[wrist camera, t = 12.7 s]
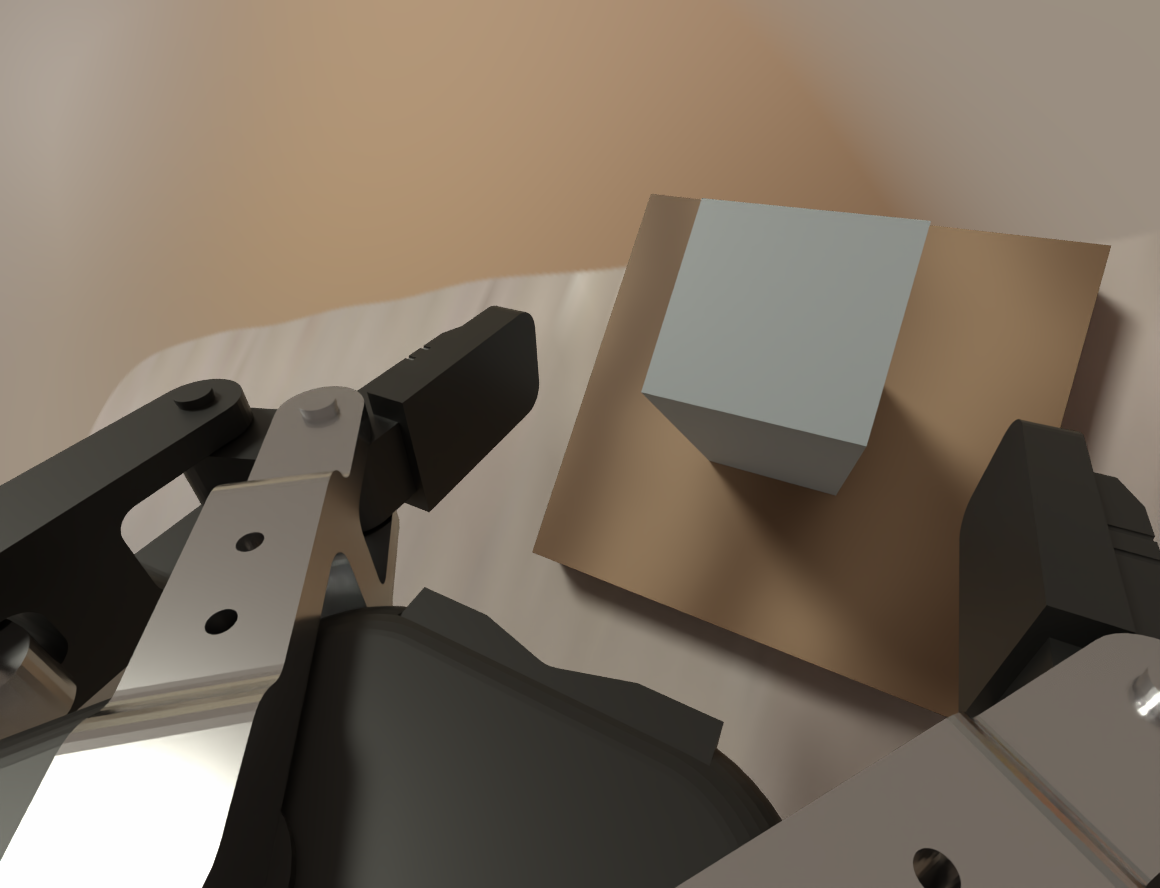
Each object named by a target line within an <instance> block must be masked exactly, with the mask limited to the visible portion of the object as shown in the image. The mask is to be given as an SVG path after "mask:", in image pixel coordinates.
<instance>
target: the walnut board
mask: <svg viewBox="0 0 1160 888" xmlns="http://www.w3.org/2000/svg"><path fill="white" fill-rule="evenodd" d="M700 202H701V200H700V199H690V198H681V197H673V196H664V195H656V194H651V195H650V198H649V202H648V204H647V208H646V210H645V213H644V217H643V220H642V223H641V226H640V229H639V232H638V235H637V238H636V241H635V244H634V247H633V250H632V253H631V256H630V259H629V262H628V265H627V268H626V271H625V274H624V277H623V280H622V283H621V286H620V289H619V292H618V295H617V298H616V301H615V304H614V307H613V310H612V313H611V316H610V319H609V322H608V325H607V328H606V331H605V334H604V337H603V340H602V343H601V346H600V349H599V352H598V355H597V358H596V361H595V364H594V367H593V370H592V373H591V376H590V379H589V383H588V386H587V389H586V392H585V395H584V398H583V401H582V404H581V407H580V410H579V413H578V416H577V419H576V422H575V425H574V428H573V431H572V434H571V437H570V440H569V443H568V446H567V449H566V452H565V455H564V458H563V461H562V464H561V467H560V470H559V473H558V476H557V479H556V482H555V485H554V488H553V491H552V494H551V497H550V500H549V503H548V506H547V509H546V512H545V515H544V518H543V521H542V524H541V527H540V530H539V533H538V536H537V539H536V542H535V545H534V549H533V553H536V554H538V555H541V556H543V557H546V558H548V559H551V560H553V561H556V562H558V563H561V564H563V565H566V566H568V567H571V568H573V569H576V570H578V571H581V572H583V573H586V574H588V575H591V576H593V577H596V578H598V579H601V580H603V581H606V582H608V583H611V584H614V585H616V586H619V587H621V588H624V589H626V590H629V591H631V592H634V593H636V594H639V595H641V596H644V597H646V598H649V599H651V600H654V601H656V602H659V603H661V604H664V605H666V606H669V607H671V608H674V609H676V610H679V611H681V612H684V613H687V614H689V615H692V616H694V617H697V618H699V619H702V620H704V621H707V622H709V623H712V624H714V625H717V626H719V627H722V628H724V629H727V630H729V631H732V632H734V633H737V634H739V635H742V636H744V637H747V638H749V639H752V640H754V641H757V642H759V643H762V644H765V645H767V646H770V647H772V648H775V649H777V650H780V651H782V652H785V653H787V654H790V655H792V656H795V657H797V658H800V659H802V660H805V661H807V662H810V663H812V664H815V665H817V666H820V667H822V668H825V669H827V670H830V671H832V672H835V673H837V674H840V675H843V676H845V677H848V678H850V679H853V680H855V681H858V682H860V683H863V684H865V685H868V686H870V687H873V688H875V689H878V690H880V691H883V692H885V693H888V694H890V695H893V696H895V697H898V698H900V699H903V700H905V701H908V702H910V703H913V704H916V705H918V706H921V707H923V708H926V709H928V710H931V711H933V712H936V713H938V714H941V715H943V716H946V717H950V716H952V715H954V714H956V713H958V708H959V537H960V529H961V524H962V520H963V516H964V513H965V510H966V507H967V505H968V503H969V500H970V498H971V496H972V494H973V492H974V491H975V489H976V487H977V485H978V483H979V481H980V479H981V477H982V476H983V474H984V472H985V470H986V468H987V466H988V464H989V462H990V461H991V459H992V457H993V455H994V453H995V451H996V449H997V447H998V446H999V444H1000V442H1001V440H1002V438H1003V436H1004V434H1005V433H1006V431H1007V429H1008V428H1009V426H1010V425H1011V424H1012V423H1013V422H1014V421H1015V420H1017V419H1021V420H1025V421H1030V422H1034V423H1039V424H1044V425H1048V426H1053V427H1058V428H1060V427H1061V423H1062V419H1063V416H1064V412H1065V409H1066V405H1067V402H1068V398H1069V394H1070V391H1071V387H1072V384H1073V380H1074V377H1075V373H1076V369H1077V366H1078V362H1079V359H1080V355H1081V352H1082V348H1083V344H1084V341H1085V337H1086V334H1087V330H1088V327H1089V323H1090V319H1091V316H1092V312H1093V309H1094V305H1095V301H1096V298H1097V294H1098V291H1099V287H1100V284H1101V280H1102V276H1103V273H1104V269H1105V266H1106V262H1107V259H1108V255H1109V251H1110V248H1111V246H1109V245H1101V244H1092V243H1083V242H1073V241H1065V240H1056V239H1047V238H1038V237H1029V236H1020V235H1012V234H1002V233H994V232H984V231H976V230H967V229H958V228H948V227H940V226H931V225H930V226H929V229H928V233H927V236H926V240H925V243H924V247H923V250H922V254H921V257H920V261H919V264H918V268H917V271H916V275H915V278H914V282H913V285H912V289H911V292H910V296H909V299H908V303H907V306H906V310H905V313H904V317H903V320H902V324H901V327H900V331H899V334H898V338H897V341H896V345H895V349H894V352H893V356H892V359H891V363H890V366H889V370H888V373H887V377H886V380H885V384H884V387H883V391H882V394H881V398H880V401H879V405H878V408H877V412H876V415H875V419H874V422H873V426H872V429H871V433H870V436H869V440H868V443H867V447H866V448H865V450H864V451H863V453H862V455H861V456H860V458H859V459H858V461H857V463H856V464H855V466H854V467H853V469H852V471H851V472H850V474H849V475H848V477H847V479H846V480H845V482H844V483H843V485H842V487H841V488H840V490H839V491H838V493H837V494H836V496H835V495H832V494H828V493H824V492H821V491H817V490H814V489H810V488H806V487H803V486H799V485H795V484H792V483H788V482H784V481H781V480H777V479H774V478H770V477H766V476H763V475H759V474H755V473H752V472H748V471H745V470H741V469H737V468H734V467H730V466H726V465H723V464H719V463H715V462H712V461H709V460H708V459H707V458H706V457H705V456H704V455H703V454H702V453H701V452H700V451H699V450H698V449H697V448H696V447H695V446H694V445H693V444H692V443H691V442H690V441H689V440H688V439H687V438H686V437H685V436H684V435H683V434H682V433H681V432H680V431H679V430H678V429H677V428H676V427H675V426H674V425H673V424H672V423H671V422H670V421H669V420H668V419H667V418H666V417H665V416H664V415H663V414H662V413H661V412H660V411H659V410H658V409H657V408H656V407H655V406H654V405H653V404H652V403H651V402H650V401H649V400H648V399H647V398H646V397H645V396H644V395H643V394H642V393H641V391H642V388H643V385H644V382H645V378H646V375H647V372H648V369H649V366H650V362H651V359H652V356H653V353H654V350H655V346H656V343H657V340H658V337H659V334H660V330H661V327H662V324H663V321H664V318H665V314H666V311H667V308H668V305H669V302H670V298H671V295H672V292H673V289H674V286H675V282H676V279H677V276H678V273H679V270H680V266H681V263H682V260H683V257H684V254H685V250H686V247H687V244H688V241H689V238H690V234H691V231H692V228H693V225H694V222H695V218H696V215H697V212H698V209H699V206H700Z"/></svg>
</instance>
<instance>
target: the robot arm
mask: <svg viewBox="0 0 1160 888" xmlns="http://www.w3.org/2000/svg"><path fill="white" fill-rule="evenodd" d="M538 390H539V375H538V361H537V348H536V334H535V324H534V320H533V318H532V316H531V315H530V314H529V313H527V312H522V311H517V310H513V309H508V308H503V307H499V306H491V307H489V308H487V309H486V310H484V311H483V312H482V313H480V314H479V315H477V316H476V317H474V318H473V319H471V320H470V321H469V322H467V323H466V324H464V325H463V326H461V327H458V328H455V329H453V330H450V331H447V332H444V333H442V334H440V335H439V336H437V337H436V338H434V339H433V340H431V341H430V342H428V343H427V344H426V345H424V348H423V349H422V348H420V349H418V350H417V351H415V352H414V353H412V354H411V355H409V359H406V358H405V359H403V360H402V361H401V362H399V363H398V364H396V365H395V366H393V367H392V368H390V369H389V370H387V371H386V372H384V373H383V374H381V375H380V376H378V377H377V378H376V379H374V380H373V381H371V382H370V383H368V384H367V385H365V386H364V387H362V388H361V389H359V390H358V391H356V390H354V389H351V388H347V387H339V386H331V387H322V388H317V389H312V390H309V391H306V392H303V393H301V394H298V395H296V396H294V397H292V398H291V399H289V400H287V401H286V402H285V403H283V404H282V405H281V406H280V407H279V408H278V409H262V408H250V406H249V404H248V401H247V399H246V397H245V395H244V392H243V390H242V388H241V386H240V385H239V384H238V383H236V382H234V381H231V380H226V379H209V380H202V381H197V382H193V383H189V384H186V385H183V386H181V387H178V388H176V389H174V390H172V391H170V392H168V393H166V394H164V395H162V396H161V397H159V398H157V399H155V400H153V401H152V402H150V403H148V404H146V405H144V406H143V407H141V408H139V409H137V410H135V411H134V412H132V413H130V414H128V415H126V416H125V417H123V418H121V419H119V420H118V421H116V422H114V423H112V424H110V425H109V426H107V427H105V428H103V429H101V430H100V431H98V432H96V433H94V434H92V435H91V436H89V437H87V438H85V439H83V440H82V441H80V442H78V443H76V444H74V445H73V446H71V447H69V448H67V449H65V450H64V451H62V452H60V453H58V454H56V455H55V456H53V457H51V458H49V459H48V460H46V461H44V462H42V463H40V464H39V465H37V466H35V467H33V468H31V469H30V470H28V471H26V472H24V473H22V474H21V475H19V476H17V477H15V478H14V479H12V480H10V481H8V482H6V483H4V484H3V485H1V486H0V888H1160V550H1159V547H1158V544H1157V542H1154V541H1153V539H1154V537H1155V535H1154V532H1153V529H1152V526H1151V523H1150V521H1149V518H1148V515H1147V512H1146V509H1145V507H1144V506H1143V505H1142V504H1141V503H1140V502H1139V500H1138V499H1137V498H1136V497H1135V496H1134V495H1133V494H1132V493H1131V492H1130V491H1129V490H1128V489H1127V488H1126V487H1125V486H1124V485H1123V484H1122V483H1121V482H1120V481H1119V480H1118V478H1116V477H1111V476H1107V475H1103V474H1099V473H1094V472H1093V469H1092V465H1091V461H1090V457H1089V454H1088V450H1087V446H1086V442H1085V439H1084V436H1083V434H1082V433H1080V432H1076V431H1072V430H1067V429H1062V428H1058V427H1053V426H1048V425H1044V424H1039V423H1034V422H1030V421H1025V420H1021V419H1017V420H1015V421H1014V422H1013V423H1012V424H1011V425H1010V426H1009V428H1008V429H1007V431H1006V433H1005V434H1004V436H1003V438H1002V440H1001V442H1000V444H999V446H998V447H997V449H996V451H995V453H994V455H993V457H992V459H991V461H990V462H989V464H988V466H987V468H986V470H985V472H984V474H983V476H982V477H981V479H980V481H979V483H978V485H977V487H976V489H975V491H974V492H973V494H972V496H971V498H970V500H969V503H968V505H967V507H966V510H965V513H964V516H963V520H962V524H961V529H960V537H959V708H958V713H956V714H954V715H952V716H950V717H948V718H946V719H944V720H943V721H941V722H939V723H938V724H936V725H934V726H933V727H931V728H930V729H928V730H926V731H925V732H923V733H922V734H920V735H918V736H917V737H915V738H914V739H912V740H910V741H909V742H907V743H906V744H904V745H902V746H901V747H899V748H898V749H896V750H894V751H893V752H891V753H890V754H888V755H886V756H885V757H883V758H882V759H880V760H878V761H877V762H875V763H874V764H872V765H870V766H869V767H867V768H866V769H864V770H862V771H861V772H859V773H858V774H856V775H854V776H853V777H851V778H850V779H848V780H846V781H845V782H843V783H842V784H840V785H838V786H837V787H835V788H834V789H832V790H830V791H829V792H827V793H826V794H824V795H822V796H821V797H819V798H818V799H816V800H815V801H813V802H811V803H810V804H808V805H807V806H805V807H803V808H802V809H800V810H799V811H797V812H795V813H794V814H792V815H791V816H789V817H787V818H786V819H784V820H783V821H782V820H781V818H780V817H779V815H778V813H777V812H776V810H775V809H774V807H773V806H772V804H771V803H770V802H769V800H768V799H767V798H766V797H765V795H764V794H763V793H762V792H761V791H760V789H759V788H758V787H757V786H756V784H755V783H754V782H753V781H752V780H751V779H750V778H749V777H748V776H747V775H746V774H745V773H744V772H743V771H742V770H741V769H740V768H739V767H738V766H737V765H736V764H735V763H734V762H733V761H732V760H730V759H729V758H728V757H727V756H726V755H724V754H723V753H722V752H721V751H719V750H718V749H717V745H718V742H719V738H720V734H721V730H722V726H723V723H724V722H722V721H720V720H718V719H716V718H713V717H711V716H709V715H707V714H705V713H702V712H700V711H698V710H696V709H693V708H691V707H689V706H687V705H685V704H682V703H680V702H678V701H676V700H674V699H671V698H669V697H667V696H665V695H662V694H660V693H658V692H656V691H654V690H651V689H649V688H647V687H645V686H642V685H640V684H638V683H633V682H628V681H623V680H617V679H612V678H607V677H601V676H596V675H591V674H585V673H580V672H575V671H569V670H564V669H559V668H554V667H551V666H548V665H546V664H544V663H543V662H541V661H540V660H539V659H538V658H536V657H535V656H534V655H533V654H532V653H531V652H529V651H528V650H527V649H526V648H525V647H524V646H522V645H521V644H520V643H519V642H518V641H516V640H515V639H514V638H513V637H512V636H511V635H509V634H508V633H507V632H506V631H505V630H504V629H502V628H501V627H500V626H499V625H498V624H497V623H495V622H494V621H493V620H492V619H491V618H489V617H488V616H487V615H485V614H483V613H481V612H478V611H476V610H474V609H472V608H470V607H467V606H465V605H463V604H461V603H459V602H456V601H454V600H452V599H450V598H447V597H445V596H443V595H441V594H439V593H436V592H434V591H432V590H430V589H428V588H425V587H424V589H423V590H422V591H421V592H420V593H419V594H418V595H417V596H416V598H415V599H414V600H413V601H412V602H411V603H410V604H409V605H408V607H403V606H393V589H394V578H395V567H396V556H397V545H398V535H399V517H398V514H397V509H398V508H399V507H400V506H401V505H402V504H403V503H407V504H410V505H412V506H415V507H417V508H420V509H422V510H425V511H427V512H430V511H431V510H432V509H433V508H434V507H435V506H436V505H437V504H438V503H439V502H440V501H441V500H442V499H443V498H444V497H445V496H446V495H447V494H448V493H449V492H450V491H451V490H452V489H453V488H454V487H455V486H456V485H457V484H458V483H459V482H460V481H461V480H462V479H463V478H464V477H465V476H466V475H467V474H468V473H469V472H470V471H471V470H472V469H473V468H474V467H475V466H476V465H477V464H478V463H479V462H480V461H481V460H482V459H483V458H484V457H485V456H486V455H487V454H488V453H489V452H490V451H491V450H492V449H493V448H494V447H495V446H496V445H497V444H498V443H499V442H500V441H501V440H502V439H503V438H504V437H505V436H506V435H507V434H508V433H509V432H510V431H511V430H512V429H513V428H514V427H515V426H516V425H517V424H518V423H519V422H520V421H521V420H522V419H523V418H524V417H525V416H526V415H527V414H528V413H529V412H530V411H531V409H532V408H533V406H534V404H535V401H536V399H537V395H538ZM182 473H184V475H185V477H186V478H187V480H188V482H189V484H190V485H191V487H192V489H193V491H194V492H195V494H196V496H197V498H198V499H199V501H200V503H201V505H200V506H199V507H198V508H196V509H195V510H193V511H192V512H191V513H189V514H188V515H187V516H185V517H184V518H183V519H181V520H180V521H179V522H177V523H176V524H175V525H173V526H172V527H171V528H169V529H168V530H167V531H165V532H164V533H163V534H161V535H160V536H158V537H157V538H156V539H154V540H153V541H152V542H150V543H149V544H148V545H146V546H145V547H144V548H142V549H141V550H140V551H138V552H137V553H136V554H133V552H132V551H131V550H130V548H129V547H128V546H127V544H126V543H125V541H124V540H123V538H122V536H121V524H122V521H123V519H124V517H125V515H126V514H127V513H128V512H129V511H130V510H131V509H132V508H133V507H134V506H135V505H137V504H138V503H140V502H141V501H143V500H144V499H146V498H147V497H149V496H150V495H152V494H153V493H155V492H156V491H157V490H159V489H160V488H162V487H163V486H165V485H166V484H168V483H169V482H171V481H172V480H174V479H175V478H177V477H178V476H180V475H181V474H182Z"/></svg>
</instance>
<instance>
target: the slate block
mask: <svg viewBox="0 0 1160 888" xmlns="http://www.w3.org/2000/svg"><path fill="white" fill-rule="evenodd" d="M930 222H931V221H924V220H915V219H905V218H895V217H885V216H873V215H865V214H855V213H844V212H834V211H824V210H814V209H804V208H794V207H784V206H774V205H763V204H753V203H744V202H734V201H723V200H714V199H704V198H702V199H701V202H700V206H699V209H698V212H697V215H696V218H695V222H694V225H693V228H692V231H691V234H690V238H689V241H688V244H687V247H686V250H685V254H684V257H683V260H682V263H681V266H680V270H679V273H678V276H677V279H676V282H675V286H674V289H673V292H672V295H671V298H670V302H669V305H668V308H667V311H666V314H665V318H664V321H663V324H662V327H661V330H660V334H659V337H658V340H657V343H656V346H655V350H654V353H653V356H652V359H651V362H650V366H649V369H648V372H647V375H646V378H645V382H644V385H643V388H642V391H641V393H642V394H643V395H644V396H645V397H646V398H647V399H648V400H649V401H650V402H651V403H652V404H653V405H654V406H655V407H656V408H657V409H658V410H659V411H660V412H661V413H662V414H663V415H664V416H665V417H666V418H667V419H668V420H669V421H670V422H671V423H672V424H673V425H674V426H675V427H676V428H677V429H678V430H679V431H680V432H681V433H682V434H683V435H684V436H685V437H686V438H687V439H688V440H689V441H690V442H691V443H692V444H693V445H694V446H695V447H696V448H697V449H698V450H699V451H700V452H701V453H702V454H703V455H704V456H705V457H706V458H707V459H708V460H709V461H712V462H715V463H719V464H723V465H726V466H730V467H734V468H737V469H741V470H745V471H748V472H752V473H755V474H759V475H763V476H766V477H770V478H774V479H777V480H781V481H784V482H788V483H792V484H795V485H799V486H803V487H806V488H810V489H814V490H817V491H821V492H824V493H828V494H832V495H835V496H836V494H837V493H838V491H839V490H840V488H841V487H842V485H843V483H844V482H845V480H846V479H847V477H848V475H849V474H850V472H851V471H852V469H853V467H854V466H855V464H856V463H857V461H858V459H859V458H860V456H861V455H862V453H863V451H864V450H865V448H866V447H867V443H868V440H869V436H870V433H871V429H872V426H873V422H874V419H875V415H876V412H877V408H878V405H879V401H880V398H881V394H882V391H883V387H884V384H885V380H886V377H887V373H888V370H889V366H890V363H891V359H892V356H893V352H894V349H895V345H896V341H897V338H898V334H899V331H900V327H901V324H902V320H903V317H904V313H905V310H906V306H907V303H908V299H909V296H910V292H911V289H912V285H913V282H914V278H915V275H916V271H917V268H918V264H919V261H920V257H921V254H922V250H923V247H924V243H925V240H926V236H927V233H928V229H929V226H930Z"/></svg>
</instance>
